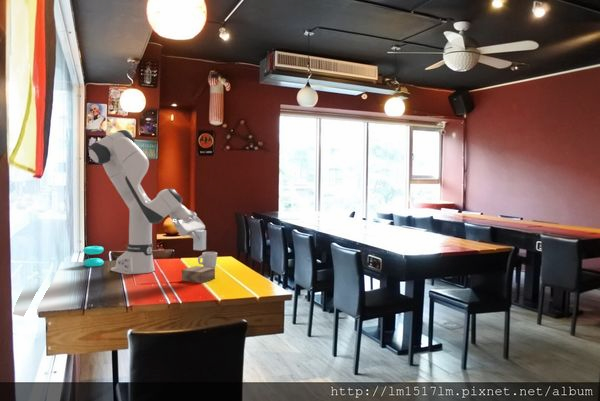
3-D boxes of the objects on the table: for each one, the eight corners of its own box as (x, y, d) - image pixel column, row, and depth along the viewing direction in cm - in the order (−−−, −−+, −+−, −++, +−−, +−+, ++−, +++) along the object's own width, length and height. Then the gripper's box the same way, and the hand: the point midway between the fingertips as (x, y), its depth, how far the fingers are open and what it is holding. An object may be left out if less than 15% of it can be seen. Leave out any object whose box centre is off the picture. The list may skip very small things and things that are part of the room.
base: (181, 280, 215) (181, 269, 215) (196, 276, 225) (196, 266, 225) (200, 283, 211) (201, 272, 210) (214, 278, 221) (214, 268, 220)
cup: (202, 270, 239) (202, 255, 239) (194, 267, 245) (194, 253, 245) (219, 267, 247) (220, 253, 246) (212, 265, 253) (212, 251, 252)
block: (193, 249, 216) (193, 230, 216) (197, 248, 220) (197, 230, 220) (201, 250, 215) (202, 231, 215) (205, 249, 219) (206, 230, 219)
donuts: (87, 249, 239) (80, 246, 246) (87, 268, 239) (80, 265, 246) (106, 247, 246) (99, 245, 253) (106, 265, 246) (99, 263, 253)
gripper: (175, 215, 209) (195, 237, 207) (196, 212, 228) (214, 232, 226) (166, 224, 210) (185, 246, 208) (188, 220, 230) (206, 241, 228)
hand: (200, 239), depth 217 cm, fingers closed on block, 4 cm apart
